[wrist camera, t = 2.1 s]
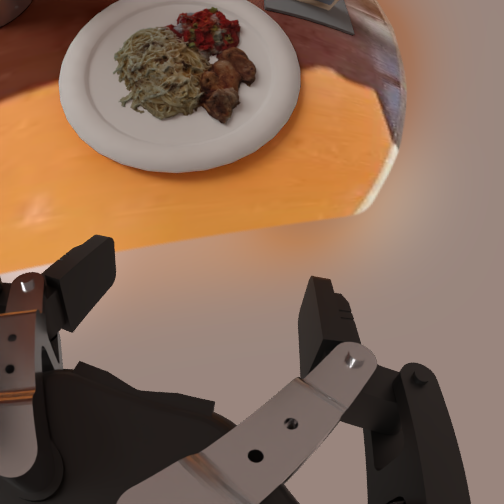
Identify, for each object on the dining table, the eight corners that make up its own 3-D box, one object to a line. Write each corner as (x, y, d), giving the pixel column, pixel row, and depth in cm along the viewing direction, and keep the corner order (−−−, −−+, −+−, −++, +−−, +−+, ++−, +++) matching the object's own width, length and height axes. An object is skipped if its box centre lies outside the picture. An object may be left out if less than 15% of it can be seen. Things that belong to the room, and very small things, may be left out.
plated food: (46, 185, 25) (34, 178, 22) (91, -2, 24) (89, -16, 21) (304, 179, 34) (318, 173, 31) (283, 7, 33) (292, -5, 30)
